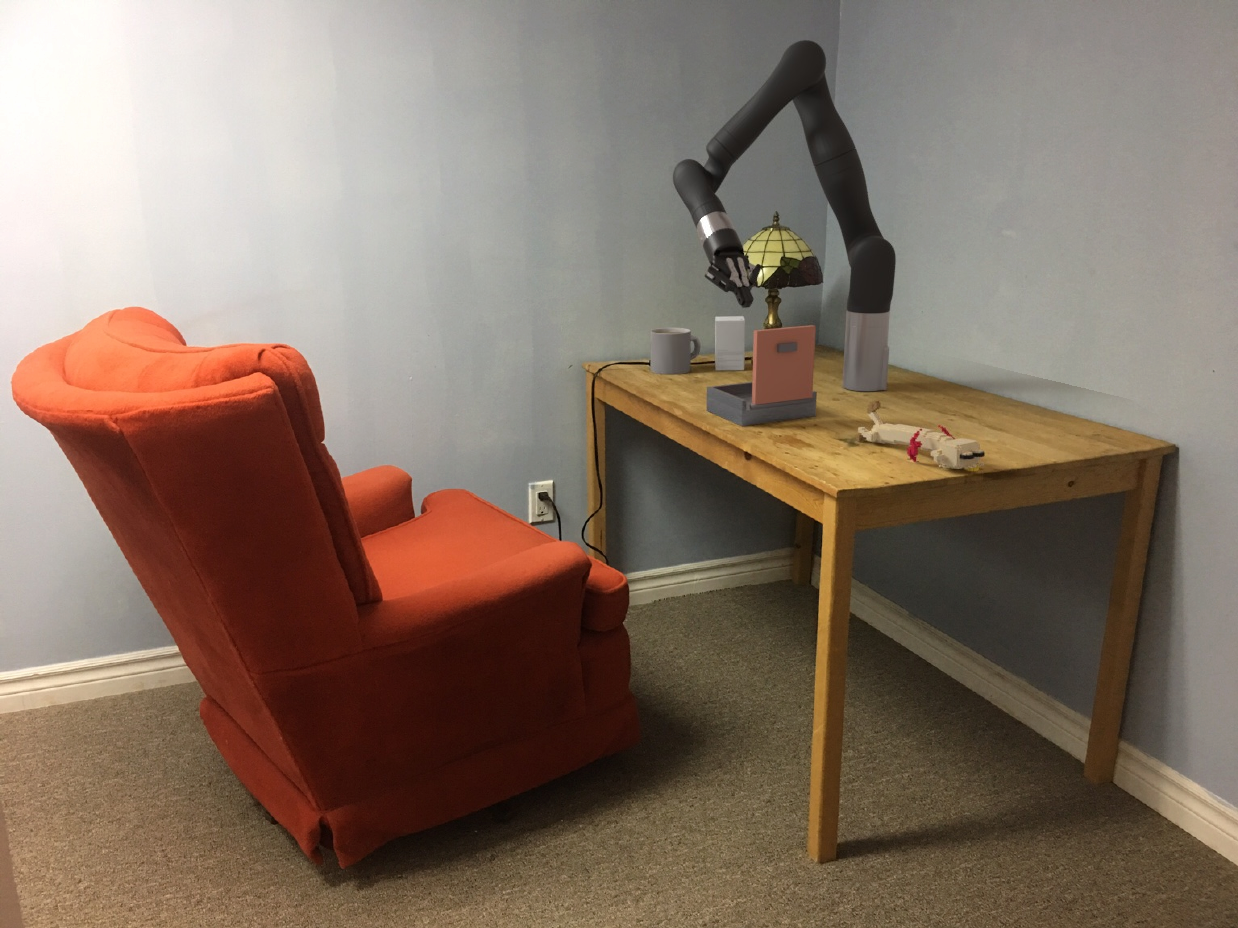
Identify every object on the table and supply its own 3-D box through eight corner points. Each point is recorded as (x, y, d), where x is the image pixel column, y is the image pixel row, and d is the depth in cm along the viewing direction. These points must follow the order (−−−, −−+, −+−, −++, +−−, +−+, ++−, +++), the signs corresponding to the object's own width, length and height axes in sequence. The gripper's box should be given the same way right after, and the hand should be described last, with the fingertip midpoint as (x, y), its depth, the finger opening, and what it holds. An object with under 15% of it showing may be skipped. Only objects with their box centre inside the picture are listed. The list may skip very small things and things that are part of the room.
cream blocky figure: (846, 451, 164) (957, 476, 143) (846, 403, 162) (959, 421, 141) (888, 443, 169) (1001, 466, 147) (888, 396, 167) (1003, 412, 145)
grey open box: (706, 410, 189) (706, 386, 187) (776, 402, 195) (777, 378, 193) (741, 426, 176) (742, 400, 175) (815, 416, 183) (816, 391, 181)
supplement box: (743, 365, 234) (744, 315, 231) (744, 371, 227) (745, 320, 224) (714, 365, 235) (715, 315, 231) (714, 371, 228) (715, 320, 224)
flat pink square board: (749, 409, 176) (751, 330, 171) (810, 401, 181) (814, 325, 177) (754, 411, 174) (756, 332, 170) (816, 403, 179) (820, 326, 175)
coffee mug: (658, 375, 223) (658, 334, 220) (645, 368, 232) (645, 329, 230) (709, 371, 227) (709, 331, 224) (694, 364, 236) (695, 325, 233)
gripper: (697, 227, 186) (726, 295, 179) (753, 226, 191) (783, 291, 184) (685, 252, 192) (712, 319, 185) (740, 250, 197) (768, 314, 190)
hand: (748, 305), depth 184 cm, fingers closed
